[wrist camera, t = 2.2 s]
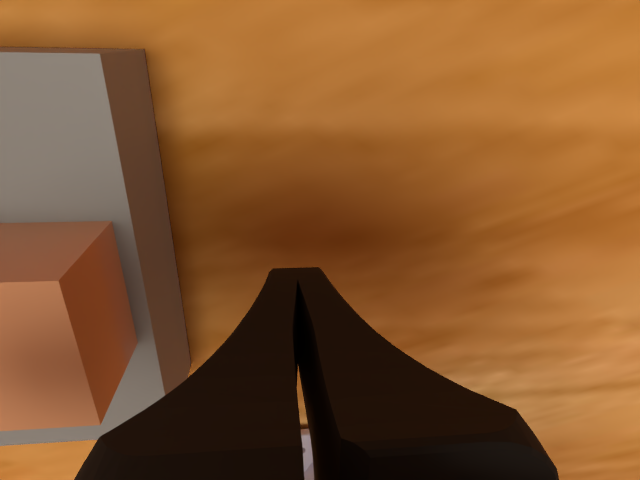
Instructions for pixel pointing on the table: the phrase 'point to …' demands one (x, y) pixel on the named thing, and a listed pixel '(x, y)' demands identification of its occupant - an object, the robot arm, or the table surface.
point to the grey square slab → (96, 198)
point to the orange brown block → (61, 324)
